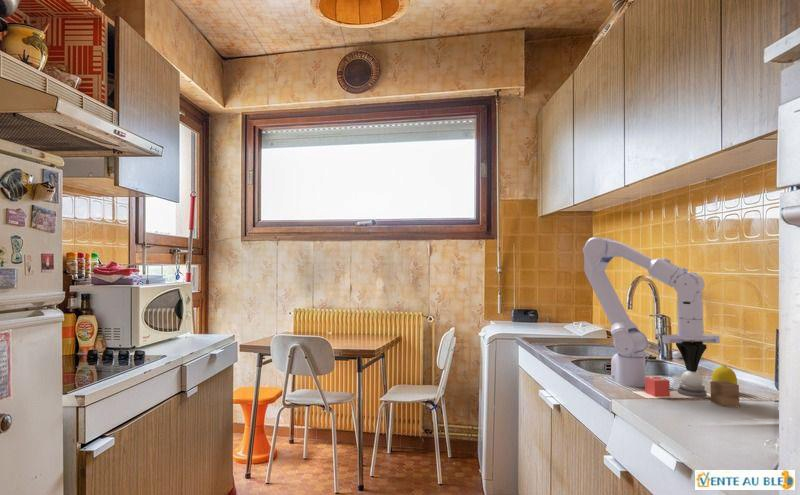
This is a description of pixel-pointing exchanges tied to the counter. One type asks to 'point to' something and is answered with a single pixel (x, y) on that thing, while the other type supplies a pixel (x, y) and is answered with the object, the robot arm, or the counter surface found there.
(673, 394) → the game board
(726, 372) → the lemon
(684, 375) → the dome
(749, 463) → the counter surface
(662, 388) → the die
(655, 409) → the counter surface
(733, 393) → the brown block
